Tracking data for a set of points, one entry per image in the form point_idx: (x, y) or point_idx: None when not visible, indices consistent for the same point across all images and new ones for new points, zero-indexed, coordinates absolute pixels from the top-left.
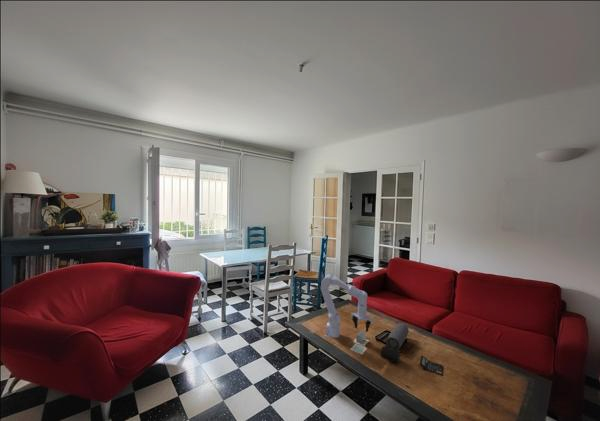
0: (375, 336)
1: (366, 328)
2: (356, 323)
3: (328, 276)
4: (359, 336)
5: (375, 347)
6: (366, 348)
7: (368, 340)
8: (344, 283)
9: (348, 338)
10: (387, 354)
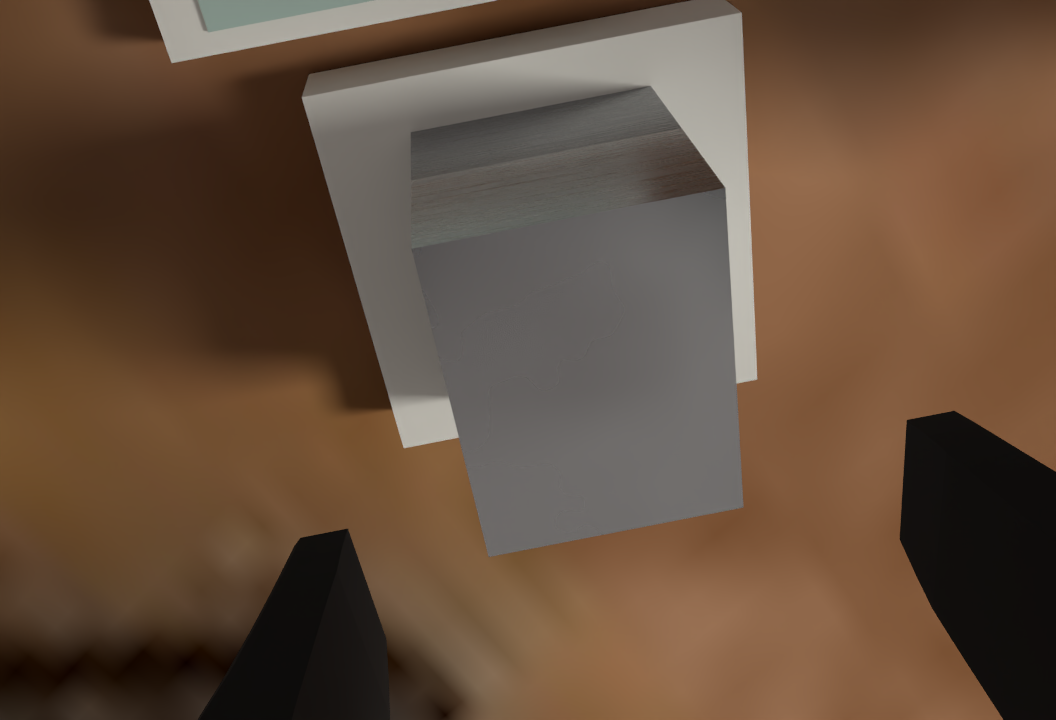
0: (452, 696)
1: (265, 679)
2: (1041, 646)
3: None
4: (570, 208)
5: (140, 367)
6: (161, 29)
7: (416, 439)
8: None
9: (971, 136)
10: None
